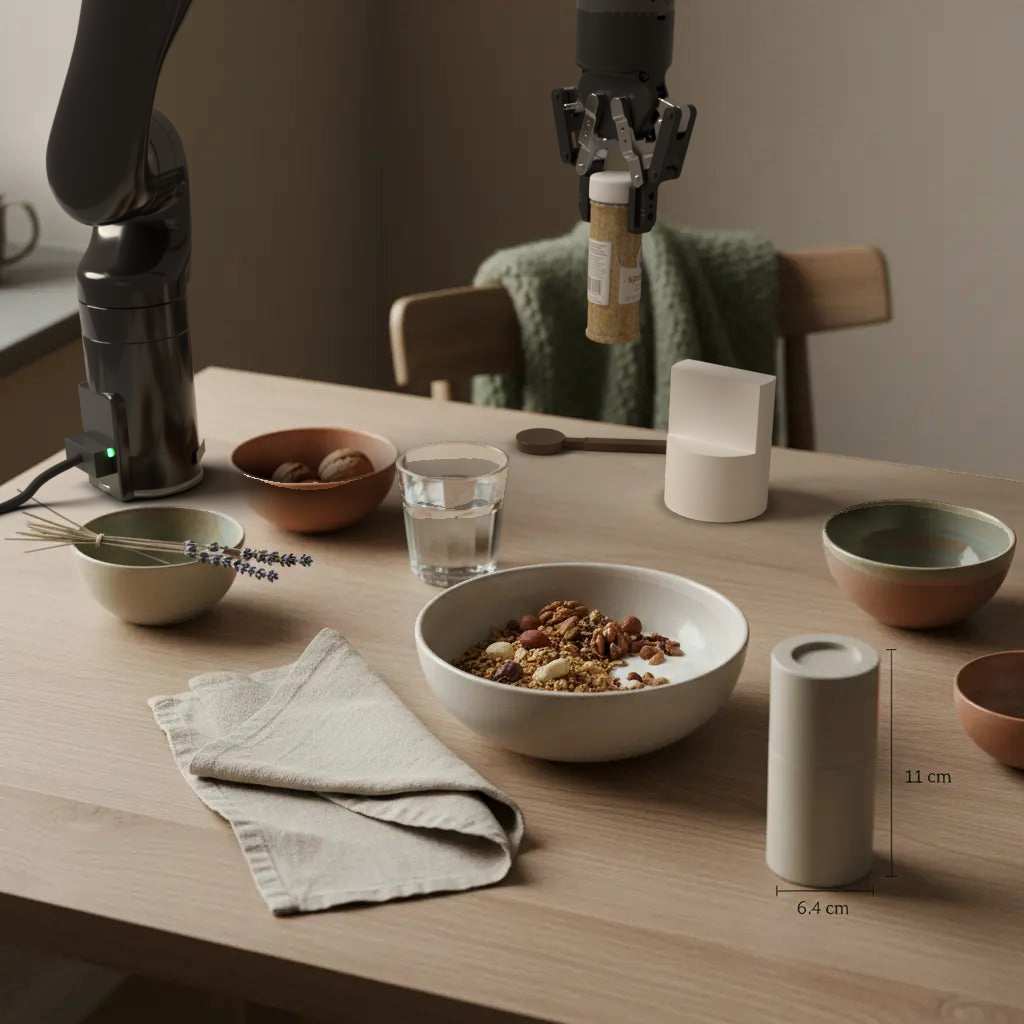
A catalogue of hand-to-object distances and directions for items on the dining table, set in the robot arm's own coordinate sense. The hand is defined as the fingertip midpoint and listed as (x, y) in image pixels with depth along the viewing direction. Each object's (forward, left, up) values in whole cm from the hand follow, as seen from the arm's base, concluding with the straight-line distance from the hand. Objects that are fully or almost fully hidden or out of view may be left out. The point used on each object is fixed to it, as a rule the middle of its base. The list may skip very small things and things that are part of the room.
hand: (616, 225), depth 121 cm
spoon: (+11, +11, -25) cm, 29 cm away
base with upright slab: (+8, -5, -25) cm, 27 cm away
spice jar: (0, 0, -10) cm, 10 cm away
